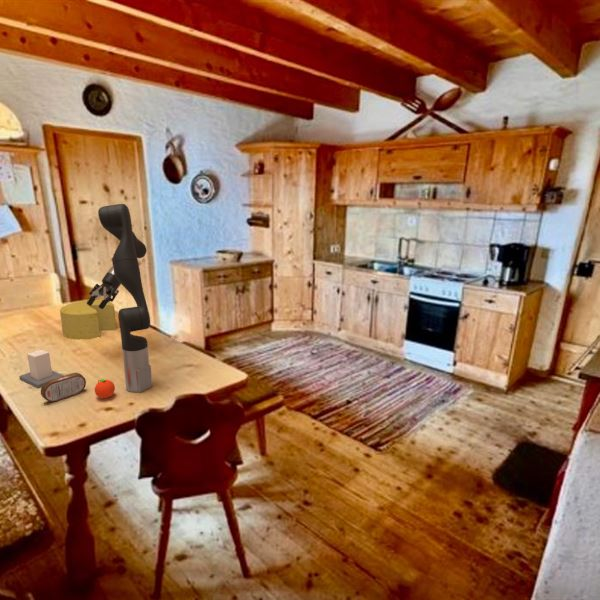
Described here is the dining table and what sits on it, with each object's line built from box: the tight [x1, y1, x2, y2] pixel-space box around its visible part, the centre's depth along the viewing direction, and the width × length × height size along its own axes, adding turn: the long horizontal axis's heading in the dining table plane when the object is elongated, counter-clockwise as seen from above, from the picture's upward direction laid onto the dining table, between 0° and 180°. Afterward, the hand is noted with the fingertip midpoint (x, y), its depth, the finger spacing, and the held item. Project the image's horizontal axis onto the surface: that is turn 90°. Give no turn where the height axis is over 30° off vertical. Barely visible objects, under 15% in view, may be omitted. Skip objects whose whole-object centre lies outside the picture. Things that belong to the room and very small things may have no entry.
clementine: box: [94, 378, 116, 399], centre depth 149 cm, size 8×7×7 cm
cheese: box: [59, 299, 117, 340], centre depth 215 cm, size 26×26×15 cm
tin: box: [40, 372, 87, 403], centre depth 147 cm, size 15×3×8 cm, turn 141°
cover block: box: [27, 349, 53, 380], centre depth 160 cm, size 6×6×10 cm
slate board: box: [19, 370, 65, 389], centre depth 161 cm, size 14×10×2 cm
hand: (94, 306), depth 172 cm, fingers open, 8 cm apart
